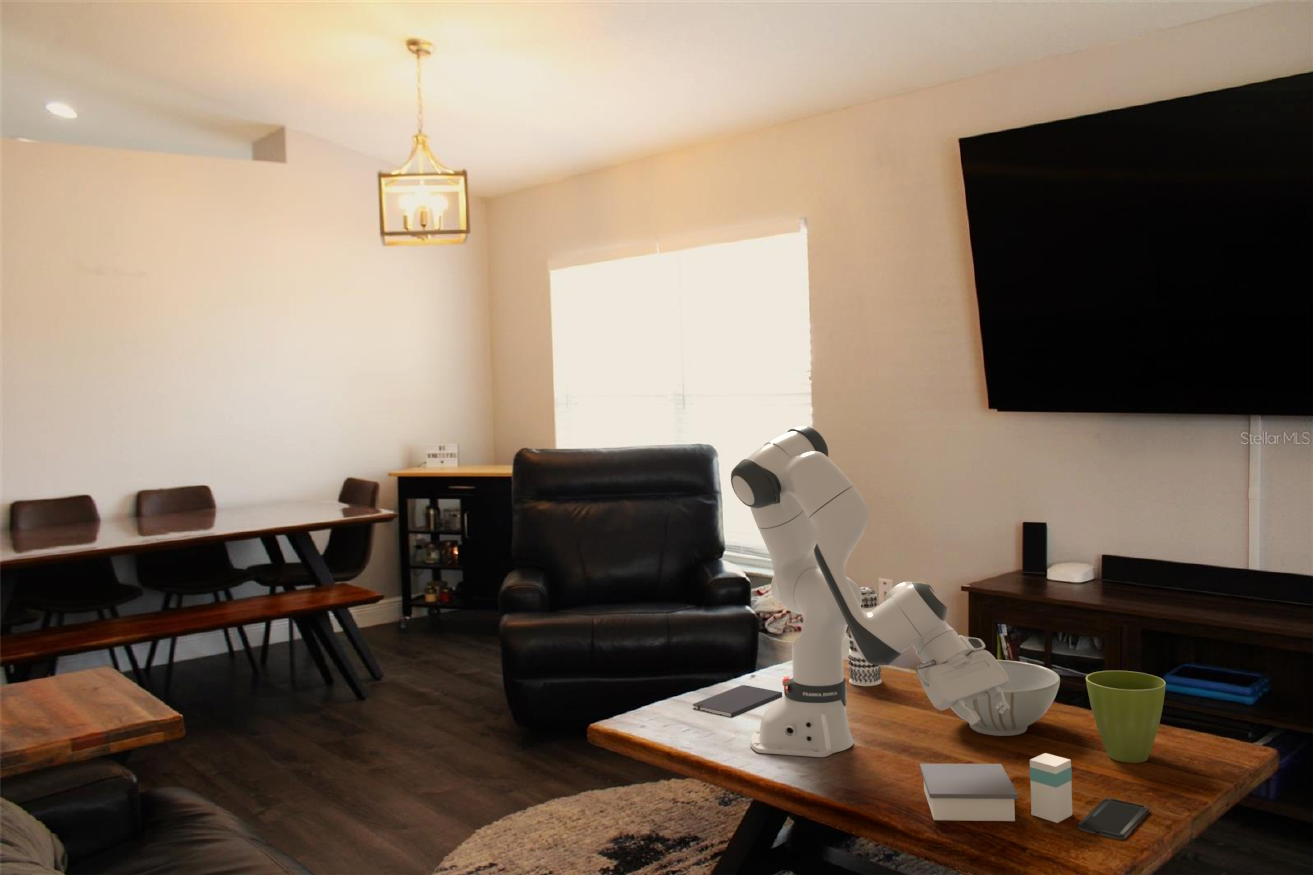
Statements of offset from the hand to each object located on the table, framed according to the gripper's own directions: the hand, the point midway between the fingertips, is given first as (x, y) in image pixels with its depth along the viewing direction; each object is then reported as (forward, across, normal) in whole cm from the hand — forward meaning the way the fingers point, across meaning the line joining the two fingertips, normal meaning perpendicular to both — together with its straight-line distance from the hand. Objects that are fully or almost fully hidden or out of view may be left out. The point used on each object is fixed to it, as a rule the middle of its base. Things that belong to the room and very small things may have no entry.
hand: (991, 717), depth 192 cm
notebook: (-45, +8, +68) cm, 82 cm away
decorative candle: (-38, +44, +60) cm, 83 cm away
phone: (+25, +6, -3) cm, 26 cm away
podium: (+10, -6, +12) cm, 17 cm away
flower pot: (+15, +37, +7) cm, 41 cm away
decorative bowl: (-5, +35, +27) cm, 45 cm away
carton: (+19, +1, +3) cm, 19 cm away
